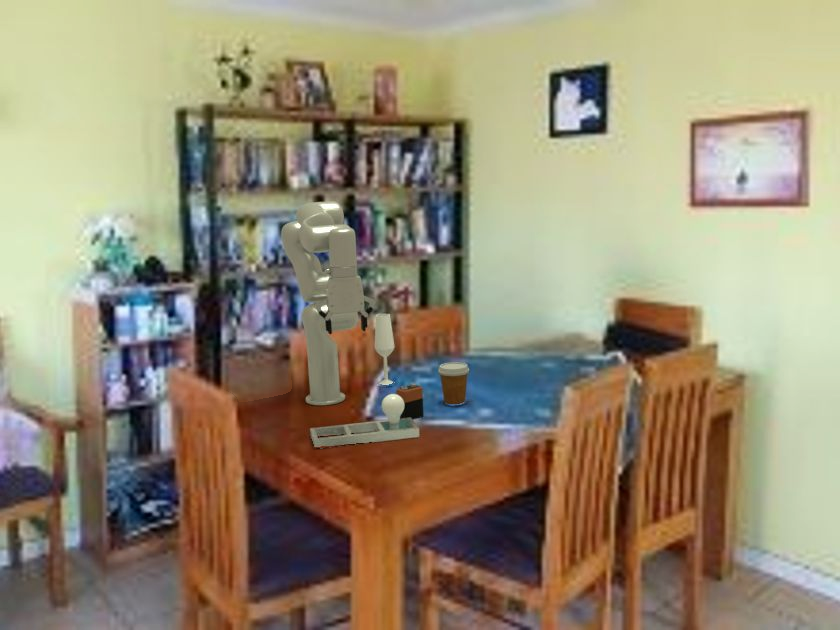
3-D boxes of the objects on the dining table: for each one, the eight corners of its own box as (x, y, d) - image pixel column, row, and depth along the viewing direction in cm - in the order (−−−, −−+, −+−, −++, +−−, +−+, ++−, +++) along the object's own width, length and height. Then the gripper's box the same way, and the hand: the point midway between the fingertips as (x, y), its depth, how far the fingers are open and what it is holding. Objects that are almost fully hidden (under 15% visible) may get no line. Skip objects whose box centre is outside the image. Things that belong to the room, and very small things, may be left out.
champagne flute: (398, 382, 293) (395, 313, 288) (393, 387, 286) (390, 317, 282) (379, 381, 294) (376, 313, 290) (374, 387, 288) (370, 316, 283)
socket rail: (310, 437, 240) (310, 428, 239) (411, 425, 246) (410, 417, 246) (314, 449, 230) (314, 440, 230) (419, 437, 236) (418, 428, 236)
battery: (424, 416, 254) (422, 383, 252) (405, 421, 250) (404, 388, 248) (415, 413, 258) (413, 381, 256) (397, 418, 254) (395, 385, 252)
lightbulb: (395, 427, 244) (393, 389, 242) (410, 431, 240) (408, 393, 238) (378, 433, 240) (376, 395, 238) (393, 437, 236) (392, 399, 233)
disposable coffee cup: (439, 408, 261) (438, 370, 259) (439, 399, 271) (437, 362, 268) (471, 407, 261) (470, 368, 259) (469, 398, 271) (468, 361, 268)
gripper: (314, 276, 235) (318, 337, 238) (376, 272, 239) (379, 332, 242) (311, 272, 242) (314, 331, 245) (371, 268, 246) (374, 326, 249)
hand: (346, 331), depth 244 cm, fingers open, 9 cm apart
